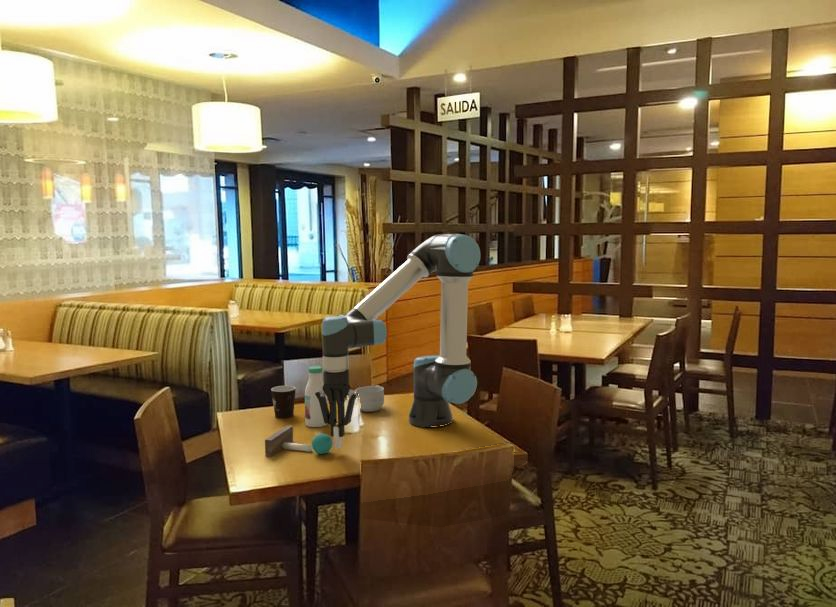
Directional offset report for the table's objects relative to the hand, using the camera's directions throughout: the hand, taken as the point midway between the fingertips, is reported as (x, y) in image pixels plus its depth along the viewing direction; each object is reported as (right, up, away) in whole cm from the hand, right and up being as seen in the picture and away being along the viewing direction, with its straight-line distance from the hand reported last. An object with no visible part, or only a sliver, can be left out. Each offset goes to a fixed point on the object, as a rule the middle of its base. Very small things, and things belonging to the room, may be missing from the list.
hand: (338, 446), depth 189 cm
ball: (-5, +1, 0) cm, 5 cm away
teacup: (+7, +3, +48) cm, 48 cm away
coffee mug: (-24, +2, +38) cm, 45 cm away
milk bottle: (-11, +1, +29) cm, 31 cm away
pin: (-9, -1, +3) cm, 9 cm away
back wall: (-18, -2, +5) cm, 19 cm away
